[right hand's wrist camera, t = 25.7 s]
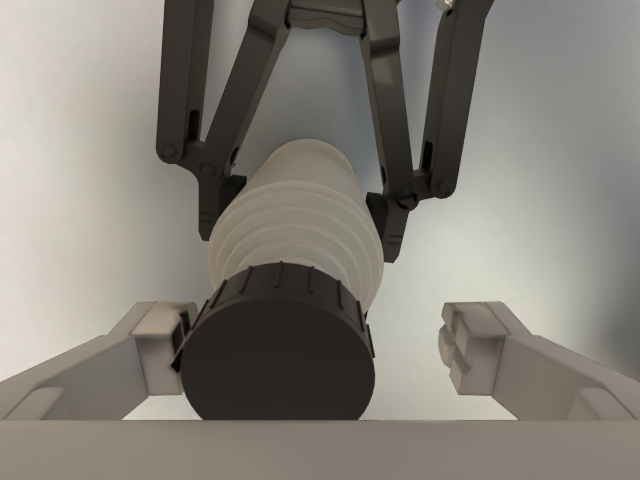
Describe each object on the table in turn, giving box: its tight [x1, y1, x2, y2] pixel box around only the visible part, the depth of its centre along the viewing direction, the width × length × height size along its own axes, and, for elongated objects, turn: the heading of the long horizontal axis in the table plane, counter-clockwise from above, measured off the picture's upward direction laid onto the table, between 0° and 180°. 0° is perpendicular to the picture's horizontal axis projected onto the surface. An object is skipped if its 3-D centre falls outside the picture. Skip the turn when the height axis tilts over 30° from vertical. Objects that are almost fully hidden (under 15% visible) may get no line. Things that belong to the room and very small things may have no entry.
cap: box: [180, 261, 375, 420], centre depth 9 cm, size 4×4×2 cm
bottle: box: [207, 138, 384, 314], centre depth 17 cm, size 7×7×17 cm
